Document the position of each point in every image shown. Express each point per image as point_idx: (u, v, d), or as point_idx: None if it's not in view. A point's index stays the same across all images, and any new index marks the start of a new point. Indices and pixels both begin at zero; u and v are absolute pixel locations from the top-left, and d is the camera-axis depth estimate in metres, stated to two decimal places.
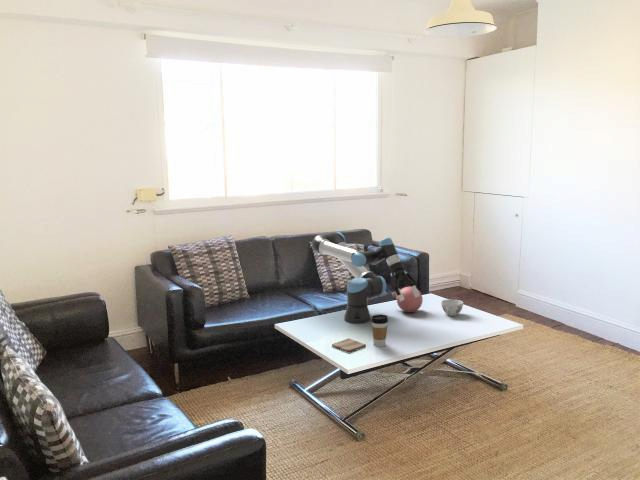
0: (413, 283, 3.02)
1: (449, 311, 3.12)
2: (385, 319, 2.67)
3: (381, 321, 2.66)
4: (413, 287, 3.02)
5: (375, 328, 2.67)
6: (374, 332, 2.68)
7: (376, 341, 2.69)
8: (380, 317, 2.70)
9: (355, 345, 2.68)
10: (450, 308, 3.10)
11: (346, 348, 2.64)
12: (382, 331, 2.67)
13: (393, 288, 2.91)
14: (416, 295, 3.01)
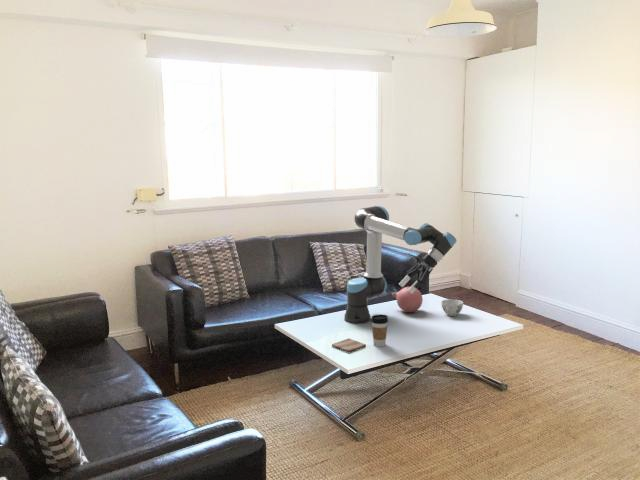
0: (411, 276, 2.84)
1: (449, 311, 3.12)
2: (385, 319, 2.67)
3: (381, 321, 2.66)
4: (408, 278, 2.83)
5: (375, 328, 2.67)
6: (374, 332, 2.68)
7: (376, 341, 2.69)
8: (380, 317, 2.70)
9: (355, 345, 2.68)
10: (450, 308, 3.10)
11: (346, 348, 2.64)
12: (382, 331, 2.67)
13: (422, 282, 2.67)
14: (401, 284, 2.83)
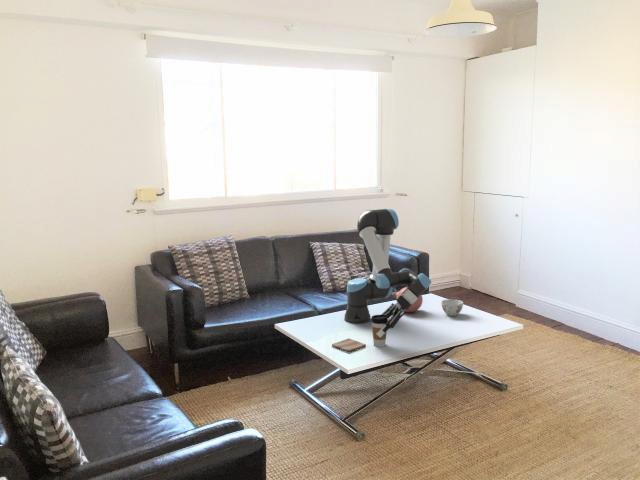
0: None
1: (449, 311, 3.12)
2: (385, 319, 2.67)
3: (381, 321, 2.66)
4: None
5: (375, 328, 2.67)
6: (374, 332, 2.68)
7: (376, 341, 2.69)
8: (380, 317, 2.70)
9: (355, 345, 2.68)
10: (450, 308, 3.10)
11: (346, 348, 2.64)
12: None
13: (391, 327, 2.63)
14: None
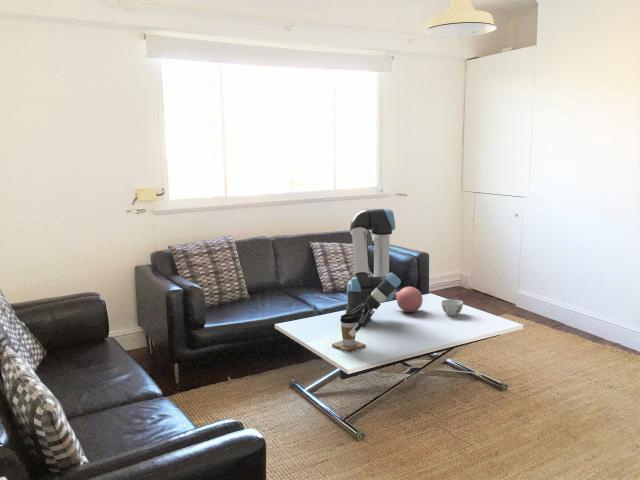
0: None
1: (449, 311, 3.12)
2: (354, 319, 2.65)
3: (350, 321, 2.64)
4: None
5: (344, 328, 2.65)
6: (343, 332, 2.66)
7: (345, 341, 2.67)
8: (349, 316, 2.68)
9: (355, 345, 2.68)
10: (450, 308, 3.10)
11: (346, 348, 2.64)
12: None
13: (363, 326, 2.59)
14: None
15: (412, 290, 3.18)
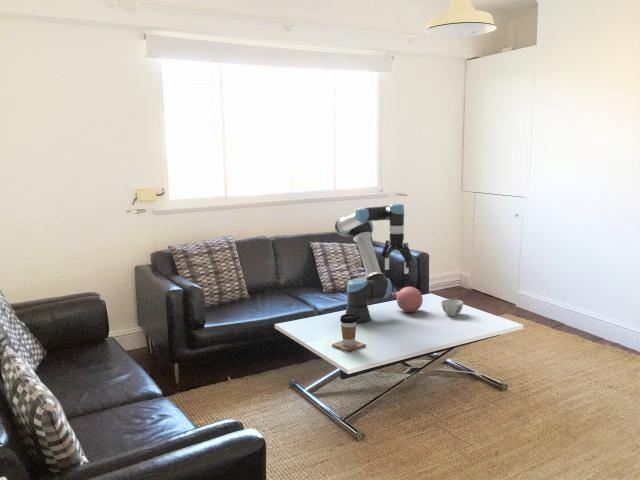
0: (388, 255, 2.96)
1: (449, 311, 3.12)
2: (354, 319, 2.65)
3: (350, 321, 2.64)
4: (387, 259, 2.95)
5: (344, 328, 2.65)
6: (343, 332, 2.66)
7: (345, 341, 2.67)
8: (349, 316, 2.68)
9: (355, 345, 2.68)
10: (450, 308, 3.10)
11: (346, 348, 2.64)
12: (351, 331, 2.65)
13: (411, 260, 2.83)
14: (387, 268, 2.96)
15: (412, 290, 3.18)
